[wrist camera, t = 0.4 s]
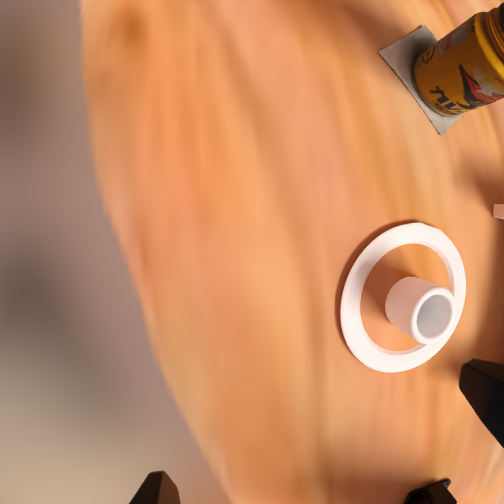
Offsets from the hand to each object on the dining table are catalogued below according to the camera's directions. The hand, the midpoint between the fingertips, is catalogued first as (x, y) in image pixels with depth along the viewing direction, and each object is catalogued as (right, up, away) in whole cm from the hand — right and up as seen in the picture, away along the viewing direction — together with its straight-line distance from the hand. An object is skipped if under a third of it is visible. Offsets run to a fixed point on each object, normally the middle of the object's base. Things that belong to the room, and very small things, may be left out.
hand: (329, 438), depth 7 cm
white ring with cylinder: (+10, +1, +16) cm, 19 cm away
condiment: (+13, +20, +14) cm, 28 cm away
